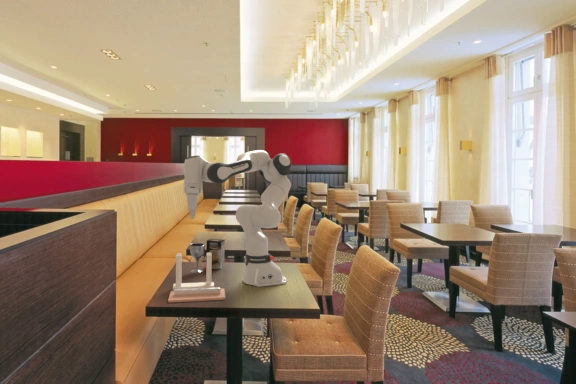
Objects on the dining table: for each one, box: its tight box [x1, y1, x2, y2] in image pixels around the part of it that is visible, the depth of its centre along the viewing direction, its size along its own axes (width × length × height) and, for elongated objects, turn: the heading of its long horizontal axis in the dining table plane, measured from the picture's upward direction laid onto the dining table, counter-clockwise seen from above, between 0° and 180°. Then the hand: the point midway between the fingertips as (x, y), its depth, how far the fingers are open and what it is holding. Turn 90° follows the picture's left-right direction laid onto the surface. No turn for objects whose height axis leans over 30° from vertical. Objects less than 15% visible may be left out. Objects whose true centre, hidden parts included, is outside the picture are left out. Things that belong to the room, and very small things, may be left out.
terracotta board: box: [167, 287, 227, 304], centre depth 163 cm, size 24×12×1 cm, turn 103°
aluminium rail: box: [173, 286, 222, 296], centre depth 162 cm, size 20×2×2 cm, turn 103°
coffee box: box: [205, 238, 226, 270], centre depth 210 cm, size 9×6×16 cm
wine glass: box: [189, 242, 206, 274], centre depth 201 cm, size 8×8×15 cm
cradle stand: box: [172, 253, 215, 291], centre depth 174 cm, size 19×6×16 cm, turn 103°
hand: (192, 217), depth 177 cm, fingers open, 8 cm apart
